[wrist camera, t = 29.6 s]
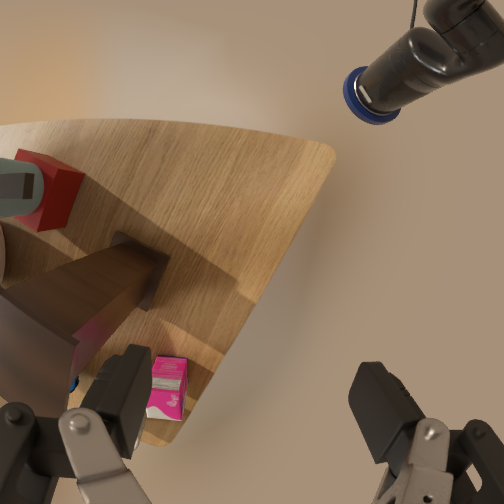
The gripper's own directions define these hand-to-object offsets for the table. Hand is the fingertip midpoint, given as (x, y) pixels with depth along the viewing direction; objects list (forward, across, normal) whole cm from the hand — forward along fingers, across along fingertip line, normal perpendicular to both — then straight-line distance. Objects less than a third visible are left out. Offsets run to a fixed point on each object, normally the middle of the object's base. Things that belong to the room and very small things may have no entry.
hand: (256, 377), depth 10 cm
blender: (+37, +34, -2) cm, 50 cm away
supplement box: (+34, +9, +28) cm, 45 cm away
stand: (+36, +17, +10) cm, 41 cm away
